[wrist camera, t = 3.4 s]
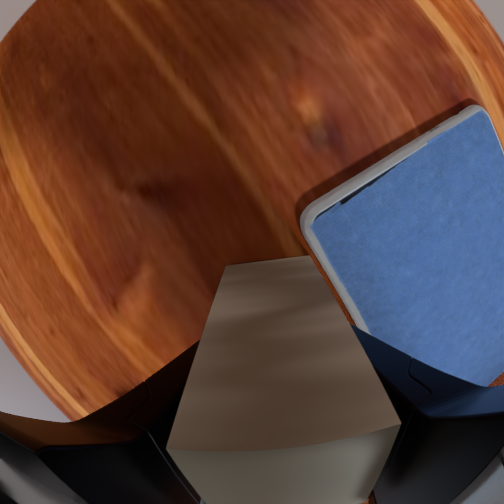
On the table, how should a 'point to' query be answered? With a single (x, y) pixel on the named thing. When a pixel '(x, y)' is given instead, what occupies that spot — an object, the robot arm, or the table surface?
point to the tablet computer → (424, 247)
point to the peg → (281, 395)
